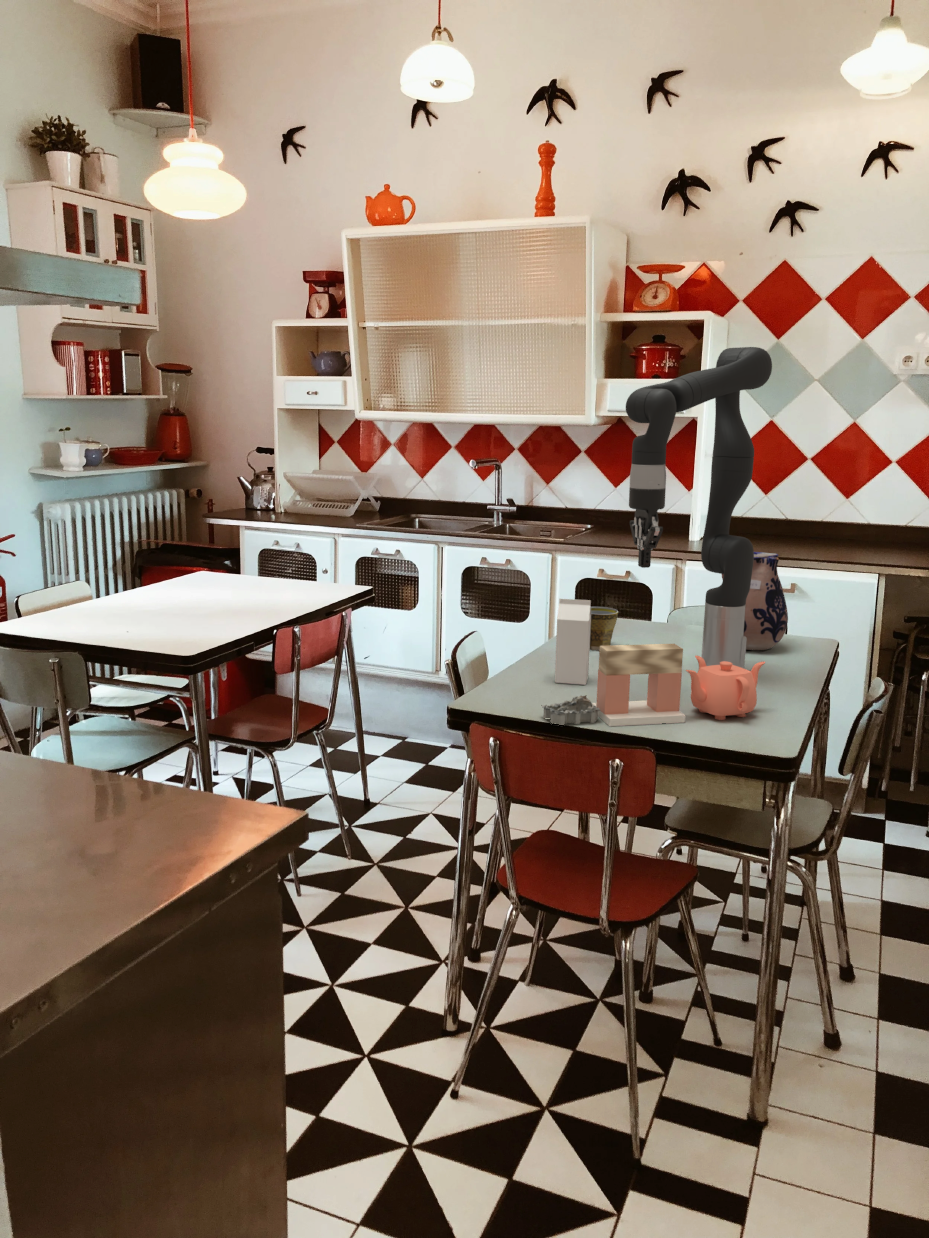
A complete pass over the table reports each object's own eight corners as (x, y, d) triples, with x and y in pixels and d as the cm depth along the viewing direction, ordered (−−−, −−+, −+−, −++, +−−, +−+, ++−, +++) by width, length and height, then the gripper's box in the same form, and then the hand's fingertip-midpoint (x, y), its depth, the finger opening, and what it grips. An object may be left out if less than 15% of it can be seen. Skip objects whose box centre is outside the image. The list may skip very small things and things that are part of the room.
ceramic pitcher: (759, 658, 250) (767, 561, 245) (692, 642, 266) (699, 551, 261) (798, 649, 261) (807, 555, 255) (732, 634, 277) (739, 546, 271)
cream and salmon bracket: (663, 706, 208) (665, 662, 206) (684, 722, 197) (688, 676, 195) (591, 709, 205) (593, 665, 203) (609, 726, 194) (611, 680, 192)
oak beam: (672, 667, 203) (674, 643, 202) (681, 672, 198) (683, 648, 197) (598, 669, 200) (599, 645, 199) (605, 675, 195) (606, 651, 194)
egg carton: (587, 713, 203) (588, 694, 203) (602, 724, 196) (603, 704, 196) (539, 716, 200) (539, 697, 200) (552, 727, 193) (553, 707, 192)
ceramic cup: (624, 649, 257) (626, 611, 255) (595, 653, 252) (597, 615, 250) (591, 639, 268) (592, 603, 266) (563, 643, 262) (564, 606, 260)
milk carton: (585, 685, 223) (589, 603, 219) (554, 683, 224) (557, 601, 220) (588, 677, 230) (591, 597, 226) (558, 675, 231) (561, 595, 227)
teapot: (682, 719, 200) (685, 666, 198) (692, 700, 213) (695, 651, 211) (756, 728, 195) (760, 674, 192) (761, 708, 208) (765, 658, 206)
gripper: (677, 488, 202) (673, 571, 205) (651, 482, 214) (648, 561, 218) (643, 489, 200) (639, 573, 204) (619, 483, 213) (616, 562, 216)
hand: (644, 566), depth 211 cm, fingers closed
